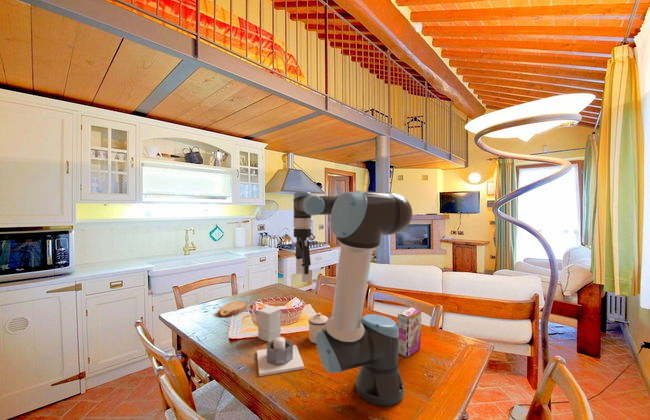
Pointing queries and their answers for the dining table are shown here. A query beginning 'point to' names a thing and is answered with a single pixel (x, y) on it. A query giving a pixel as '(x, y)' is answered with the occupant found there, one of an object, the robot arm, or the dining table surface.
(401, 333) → the candy bar box
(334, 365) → the robot arm
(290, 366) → the post
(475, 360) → the dining table surface
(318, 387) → the dining table surface
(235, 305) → the slice of bread
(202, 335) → the dining table surface
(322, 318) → the teacup with lid
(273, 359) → the ring
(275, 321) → the supplement box
